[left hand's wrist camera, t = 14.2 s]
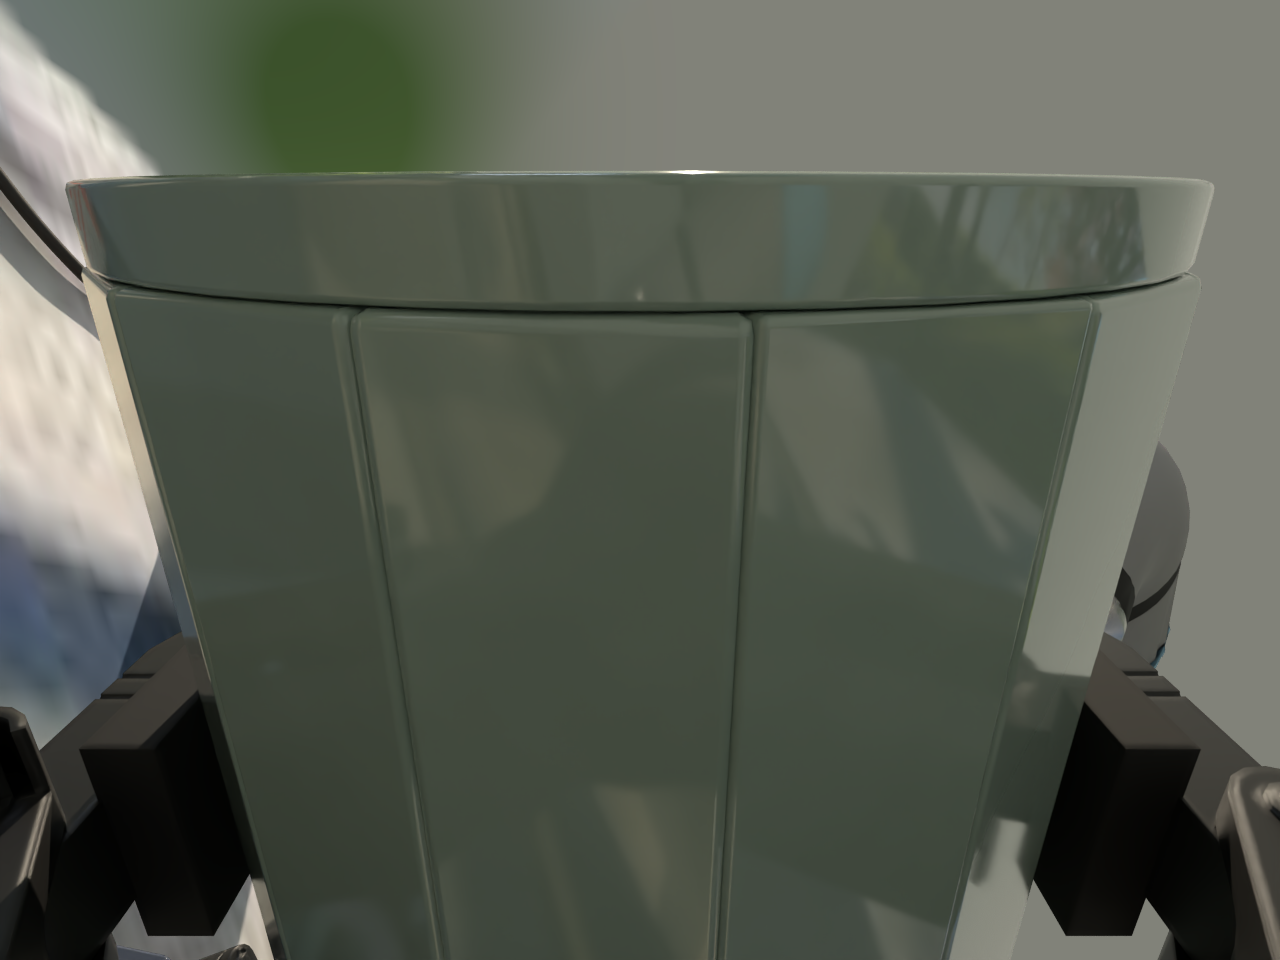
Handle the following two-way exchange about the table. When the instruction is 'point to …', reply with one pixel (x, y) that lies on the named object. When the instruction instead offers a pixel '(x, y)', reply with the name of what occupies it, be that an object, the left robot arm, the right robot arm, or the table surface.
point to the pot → (138, 954)
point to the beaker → (642, 537)
